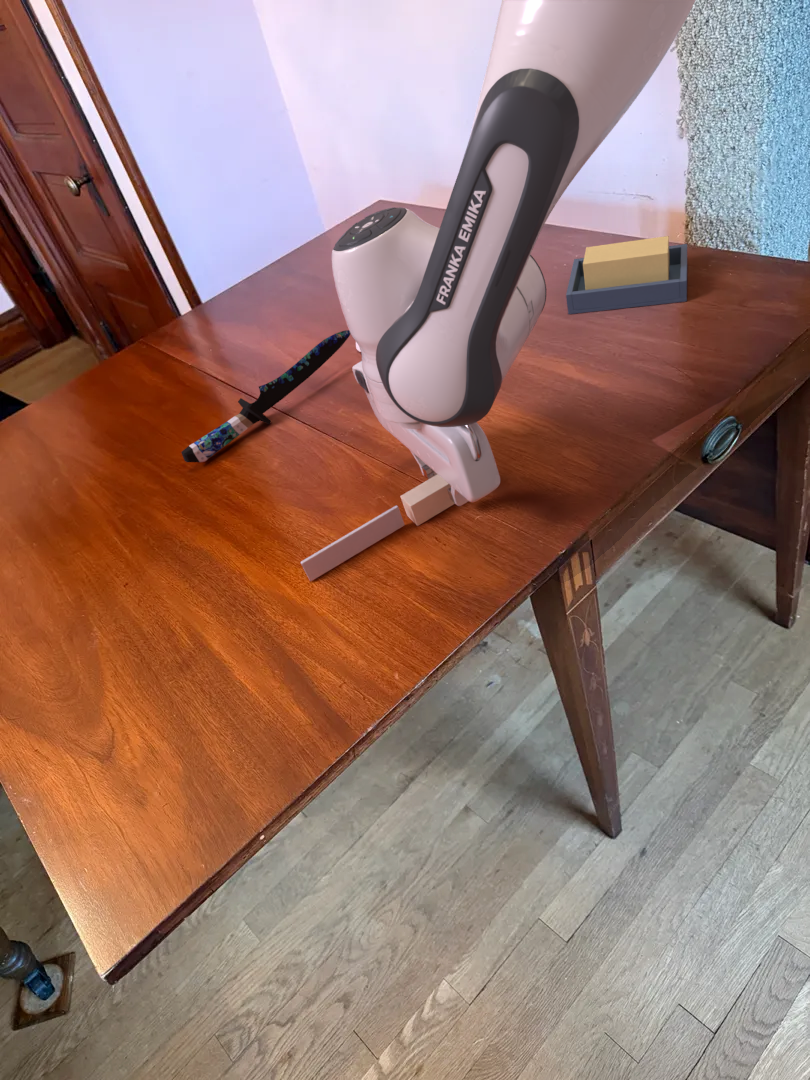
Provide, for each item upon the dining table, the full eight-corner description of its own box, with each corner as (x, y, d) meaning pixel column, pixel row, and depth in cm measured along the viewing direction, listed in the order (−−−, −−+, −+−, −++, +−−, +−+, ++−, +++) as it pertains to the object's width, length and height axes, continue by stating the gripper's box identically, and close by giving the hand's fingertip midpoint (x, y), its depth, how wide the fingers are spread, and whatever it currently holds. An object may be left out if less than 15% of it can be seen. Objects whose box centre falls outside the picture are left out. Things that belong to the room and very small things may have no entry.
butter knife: (480, 472, 85) (474, 451, 83) (492, 481, 84) (486, 460, 82) (306, 575, 81) (296, 556, 79) (315, 588, 79) (305, 568, 77)
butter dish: (687, 263, 106) (687, 243, 104) (686, 301, 99) (686, 280, 97) (576, 277, 112) (574, 258, 110) (568, 314, 105) (565, 294, 103)
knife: (199, 478, 102) (181, 455, 99) (190, 470, 104) (173, 446, 101) (367, 351, 109) (356, 325, 106) (356, 345, 111) (344, 319, 108)
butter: (669, 263, 104) (668, 235, 101) (668, 280, 101) (667, 252, 98) (588, 273, 108) (586, 247, 105) (585, 290, 105) (582, 263, 102)
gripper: (501, 407, 66) (525, 519, 76) (394, 336, 81) (425, 437, 90) (442, 441, 65) (474, 550, 74) (344, 363, 80) (380, 462, 89)
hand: (446, 487), depth 82 cm, fingers open, 5 cm apart
